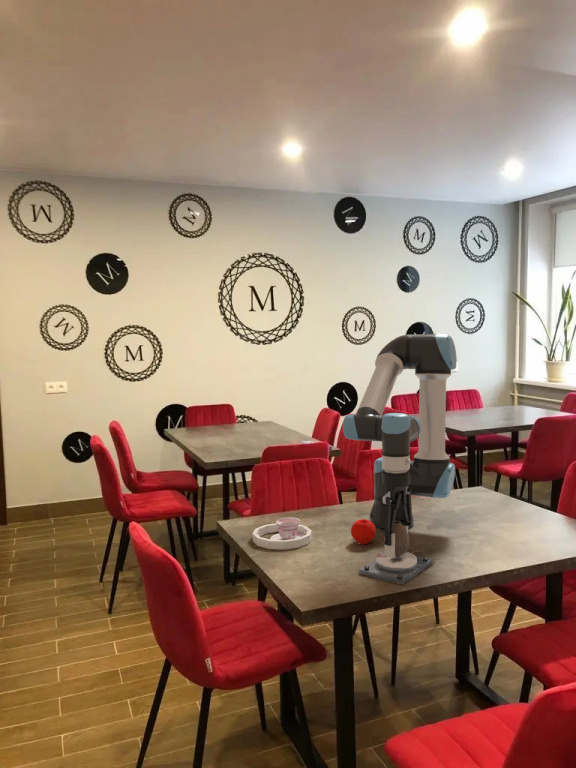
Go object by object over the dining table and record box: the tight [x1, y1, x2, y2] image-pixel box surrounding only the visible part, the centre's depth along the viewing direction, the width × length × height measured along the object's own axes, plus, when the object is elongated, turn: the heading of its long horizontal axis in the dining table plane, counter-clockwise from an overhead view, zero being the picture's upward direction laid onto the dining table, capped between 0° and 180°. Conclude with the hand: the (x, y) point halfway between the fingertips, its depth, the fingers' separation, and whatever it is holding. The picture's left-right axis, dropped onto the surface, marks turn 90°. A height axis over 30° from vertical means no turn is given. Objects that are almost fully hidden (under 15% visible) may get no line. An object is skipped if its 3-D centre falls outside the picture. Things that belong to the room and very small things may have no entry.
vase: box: [383, 521, 410, 556], centre depth 169 cm, size 7×7×9 cm
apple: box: [350, 518, 377, 546], centre depth 191 cm, size 8×8×7 cm
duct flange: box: [358, 551, 434, 585], centre depth 169 cm, size 13×18×3 cm
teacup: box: [269, 516, 304, 540], centre depth 195 cm, size 12×12×6 cm
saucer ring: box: [251, 523, 313, 550], centre depth 196 cm, size 18×18×2 cm
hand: (396, 552), depth 169 cm, fingers closed on vase, 7 cm apart
